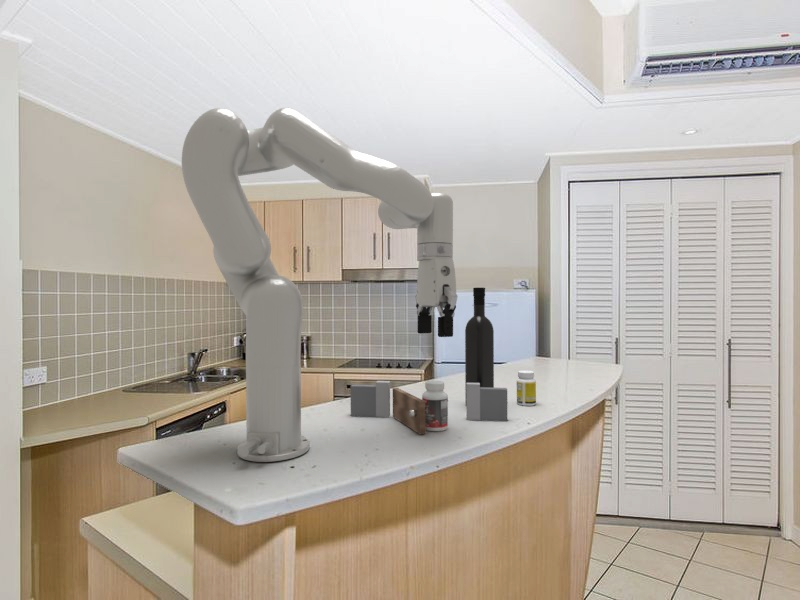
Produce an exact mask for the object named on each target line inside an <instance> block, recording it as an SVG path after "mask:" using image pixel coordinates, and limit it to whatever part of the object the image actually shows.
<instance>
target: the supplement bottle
mask: <svg viewBox="0 0 800 600" xmlns="http://www.w3.org/2000/svg"><path fill="white" fill-rule="evenodd" d="M517 377H518V378H516V403H517V405H519V406H522V405H523V406H524V407H533V406H536V404H537V385H536V384H537V382H536V379H535V372H534V371H533V370H525V369H524V370H518V372H517Z"/></svg>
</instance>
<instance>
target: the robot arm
mask: <svg viewBox="0 0 800 600" xmlns="http://www.w3.org/2000/svg"><path fill="white" fill-rule="evenodd" d="M292 166H296V168H299V169H300V170H302V171H304V172H305V173H306V174H308V175H310V176H311V177H313V178H314V179H316V180H318V181H319V182H321V183H322V184H324V185H325V186H327V187H329V188H330V189H333V190H336V191H341V192H353V193H355V192H356V193H361V194H366V195H369V196H371V197H373V198H376V199H378V200H380V203H379V205H378V207H377V208H378V209H377V214H378V218H379V220H380V222H381V223H382V224H383V225H384V226H386V227H387V228H389V229H393V230H408V229H416V231H417V232H416V235H417V236H416V244H417V246H416V261H417V262H418V267H417V280H416V281H417V283H416V294H415V301H416V305H415V307H416V309H417V310H416V315H417V333H418V334H419V335H420V334H422V335H423V334H431V333H432V330H433V329H432V327H433V326H432V325H433V324H432V322H433V321H432V319H433V318H432V317H433V316H432V314H431V312H432V310H433V308H437V311H438V313H439V316H438V317H437V337H439V338H449V337H453V336H454V317H455V310H456V308H457V305H456V304H457V301H458V294H457V281H456V279H457V278H456V269H455V263H454V258H453V257H454V256H453V254H454V253H453V251H454V200H453V198H452V197H451V195H449V194H446V193H441V192H431V191H430V189H429V188H428V187H427V186H426V185H425V184H424V183H423V182H421V180H419V179H418V178H417V177H415V176H414V175H412V174H411V173H410V172H408V171H407V170H405V169H403V168H402V167H401V166H399V165H397V164H395V163H393V162H390V161H388V160H385V159H383V158H379V157H378V156H374V155H371V154H369V153H366V152H362V151H357V150H356V149H354V148H352V147H351V146H349V145H348V144H346V143H345V142H343V141H342V140H340V139H339V138H337V137H335V135H333V134H332V133H330V132H329V131H328V130H326V129H325V128H323V127H321V126H320V125H319V124H317V123H316V122H315V121H313V120H311V119H310V118H308V117H307V116H306V115H304V114H303V113H302V112H300V111H297V110H296V109H293V108H290V107H281V108H279V109H276V110H275V111H273V112H272V113H271V114H270V116H268V117H267V119H266V121H265V123H264V125H263V127H260V128H254V129H247V127H246V125H245V123H244V122H243V120H242V119H241V117H240V116H238V115H237V114H236V113H235V112H233V111H231V110H229V109H227V108H221V107H217V108H212V109H208V110H207V111H205V112H203V113H202V114H201V115H200V116H198V118H197V119H196V120H195V121H194V122H193V124H192V125H191V126H190V128H189V130H188V132H187V134H186V136H185V138H184V142H183V146H182V150H181V171H182V176H183V181H184V185H185V188H186V191H187V193H188V195H189V199H190V200H191V202H192V204H193V206H194V209H195V210H196V212H197V215H198V217H199V218H200V221H201V223H202V224H203V227H204V228H205V230H206V232H207V234H208V236H209V238H210V240H211V242H212V245H213V247H212V248H213V249H212V252H213V257H214V260H215V263H216V266H217V267H218V270H219V271H220V273H221V276H223V278H224V280H225V282H226V284H227V286H228V287H229V289H230V291H231V293H232V295H233V297H234V299H235V300H236V301H237V304H238V306H239V307H240V309H241V310H242V313H243V314H244V315H245V316H246V326H245V327H246V328H245V329H246V330H245V331H246V332H245V333H246V335H245V388H246V389H245V391H246V392H245V393H246V394H245V395H246V396H245V397H246V399H245V409H246V411H245V413H246V418H245V420H246V425H245V426H246V429H245V430H246V433H245V434H246V439H245V440H244V441H243V442H241V443H240V444H239V445H238V446H237V448H236V450H237V451H236V452H237V456H238V457H239V458H241V459H242V460H245V461H249V462H255V463H270V462H271V463H273V462H280V461H287V460H291V459H294V458H297V457H299V456H302V455H304V454H306V453H307V452H308V451H309V450H310V448H311V441H310V439H309V438H307V437H305V436H303V435H302V376H301V375H302V363H301V361H302V360H301V357H302V356H301V355H302V354H301V352H302V351H301V348H302V347H301V346H302V345H301V342H302V329H303V316H304V302H303V296H302V293H301V291H300V289H299V288H298V286H297V284H295V283H294V282H293V281H292V280H291V279H289V278H288V277H286V276H282V275H279V273H278V271H277V269H276V268H275V265H274V264H273V261H272V259H271V256H272V255H271V254H272V246H271V245H272V244H271V241H270V238H269V236H268V235H267V233H266V231H265V230H264V228H263V226H262V224H261V223H260V221H259V219H258V217H257V215H256V213H255V211H254V209H253V208H252V206H251V205H250V202H249V201H248V198H247V196H246V194H245V192H244V189H243V186H242V184H241V182H240V178H239V177H241V176H250V175H254V174H262V173H269V172H274V171H275V172H276V171H279V170H283V169H286V168H289V167H292Z"/></svg>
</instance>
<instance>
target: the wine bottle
mask: <svg viewBox="0 0 800 600" xmlns="http://www.w3.org/2000/svg"><path fill="white" fill-rule="evenodd" d="M472 292H473V293H472V294H473V295H472V296H473V316H472V317H471V318H470V319H469V320H468V321H467V322H466V324H465V325H466V326H465V329H464V330H465V331H464V334H465V335H464V336H465V338H464V345H465V346H464V347H465V349H464V352H465V356H464V357H465V358H464V359H465V363H464V364H465V366H464V367H465V368H464V369H465V370H464V371H465V377H464V380H465V384H464V385H465V387H464V390H465V391H464V393H465V396H464V397H465V400H466V383H480V387H491V388H495V386H494V385H495V382H494V381H495V379H494V378H495V372H494V371H495V366H494V365H495V364H494V363H495V361H494V359H495V357H494V353H495V352H494V348H495V347H494V344H495V341H494V340H495V339H494V334H495V333H494V326H493V323H492V322H491V320H490V319H489V318H488V317H487V316H486V312H485V311H486V308H485V306H486V304H485V303H486V301H485V300H486V287H473V288H472Z"/></svg>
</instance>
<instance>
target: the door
mask: <svg viewBox="0 0 800 600" xmlns="http://www.w3.org/2000/svg"><path fill="white" fill-rule="evenodd" d="M392 418H395V419H396V420H398V421H399V422H401V423H402V424H403V425H405V426H407V427H408V428H409V429H411V430H412V431H414V432H416V433H418V435H425V434H426V430H425V401H424V400H422V399H421V398H420V397H417V396H416V395H414V394H411V393H409V392H407V391H405V390H403V389H401V388H399V387H393V388H392Z"/></svg>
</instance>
